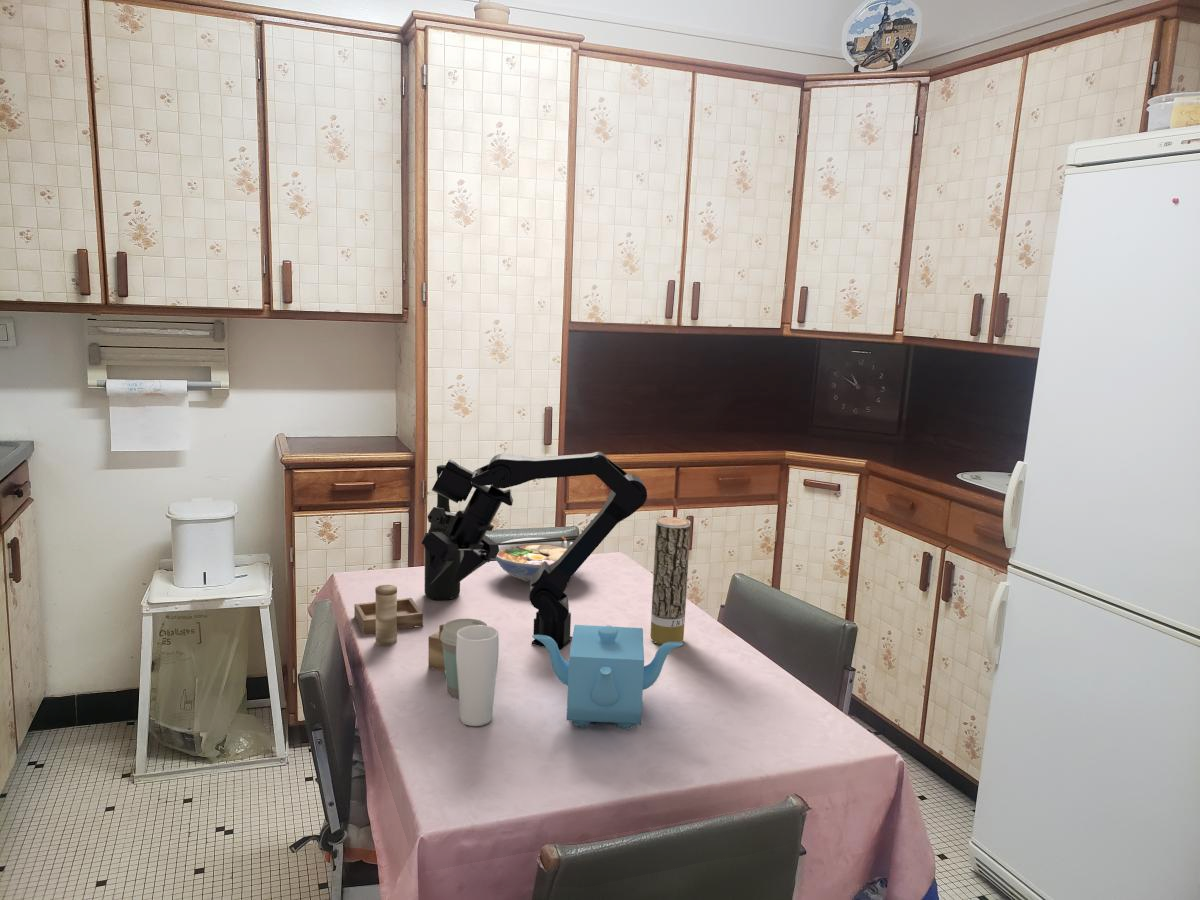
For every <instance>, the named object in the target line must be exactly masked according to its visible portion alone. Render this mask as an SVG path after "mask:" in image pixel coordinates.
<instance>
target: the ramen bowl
mask: <svg viewBox="0 0 1200 900" xmlns="http://www.w3.org/2000/svg"><path fill="white" fill-rule="evenodd" d="M578 536H579V534H578V535H577V534H576V535H567V536H559V537H558V536H557V537H523V538H514V539H510V540H507V541H506V540H505V541H502V542H496V543H497V544H498V546H499V552H498V554H497V556H496V558H495V561H496V562H497V563H498V564H499V567H501V569H503V572H506V573H507V574H509V575H510V576H512V577H513V578H516V579H519V580H522V581H525V582H526V583H528V584H531V580H532V574H533V573H535V572H537V571H538V570H539V568H540V567H541V565H542V563H543V562H544V561H546V562H547V564H548V565H551V564H552V563H554V562H556V561H557V560H558V559H559V558H560V557H561V556H562V555H563V553H564V552H565V551H566V550H567V549H568V548H569V546H570V545H571V544H572V543H573V542H574V541H575V539H576V538H577V537H578ZM572 541H573V542H572Z"/></svg>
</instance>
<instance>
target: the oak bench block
mask: <svg viewBox="0 0 1200 900" xmlns="http://www.w3.org/2000/svg"><path fill="white" fill-rule="evenodd" d="M445 624H446V623H442V624H440V625H439V626H438V627H439V629H438V630H439V631H436V632H434V633H432V634H431V635H429V636H428V653H427V655H428V656H427V657H428V662H427V663H428V665H427V666H428V667H427V668H428V669H432V668H433V670H436V669H438V670H437V671H441V672H445V665H444V655H443V646H442V641H441V639H440V636H441V632H442V630H443V627H444V625H445Z"/></svg>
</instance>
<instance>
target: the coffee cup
mask: <svg viewBox="0 0 1200 900" xmlns="http://www.w3.org/2000/svg"><path fill="white" fill-rule="evenodd" d="M444 624H445V625H444V627H443V630H442V632H441V636H440V639H441V641H442V646H443V655H444V665H445V671H444V673H445V682H446V683H445V684H446V691H447V695H448V696H450V697H451V698H454V699H458V700H459V692H458V679H457V666H456V637H457V631H458V630H459V629H461V628H463V627H467V626H472V625H485V626H488V625H487V623H486V622H485V621H483V620H481V619H478V618H477V619H476V618H457V619H454V620H453V619H452V620H450V621H447V622H446V623H444Z"/></svg>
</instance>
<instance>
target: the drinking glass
mask: <svg viewBox="0 0 1200 900" xmlns="http://www.w3.org/2000/svg"><path fill="white" fill-rule="evenodd" d="M499 639H500V638H499V631H498V630H497V629H496V628H495V627H493V626H488V625H487V626H485V625H472V626H467V627H463V628H461V629H459V630H458V631H457V637H456V666H457V679H458V692H459V699H458V701H459V703H458V705H459V720H460V722H461V723H462V724H463V725H466V726H469V727H482V726H485V725H487V724H489V723H490V722H491V721H492V720H493V717H494V702H495V701H494V700H495V693H496V692H495V689H496V682H497V674H498V665H499V664H498V663H499V650H500V649H499V646H500V643H499V642H500V641H499Z"/></svg>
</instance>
